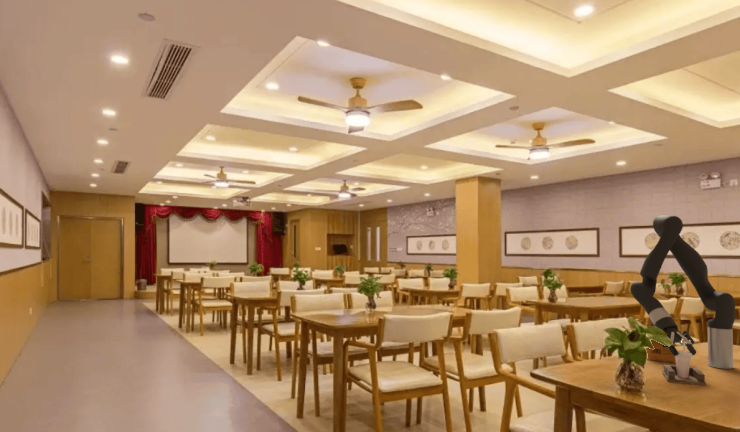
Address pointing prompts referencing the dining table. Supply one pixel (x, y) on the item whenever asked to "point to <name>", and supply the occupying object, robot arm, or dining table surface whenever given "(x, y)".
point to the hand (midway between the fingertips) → (685, 354)
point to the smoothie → (683, 363)
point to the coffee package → (660, 349)
